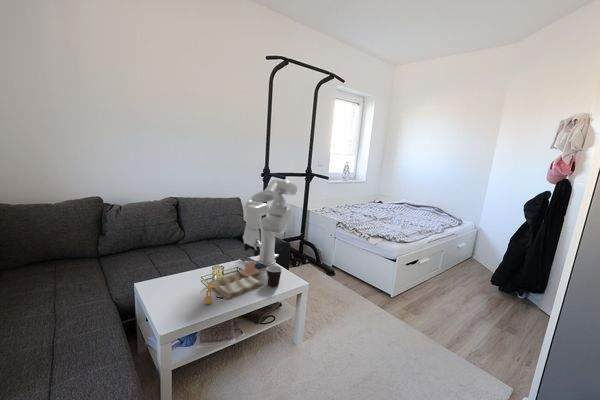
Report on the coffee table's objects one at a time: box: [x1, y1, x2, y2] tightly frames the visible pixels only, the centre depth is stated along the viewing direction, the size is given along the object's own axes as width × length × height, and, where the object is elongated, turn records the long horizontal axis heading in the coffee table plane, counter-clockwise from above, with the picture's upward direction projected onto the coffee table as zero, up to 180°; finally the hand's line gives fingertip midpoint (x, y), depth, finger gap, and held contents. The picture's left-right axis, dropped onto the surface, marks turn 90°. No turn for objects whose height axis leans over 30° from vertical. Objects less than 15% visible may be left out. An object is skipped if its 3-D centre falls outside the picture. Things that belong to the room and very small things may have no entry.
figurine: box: [199, 282, 218, 305], centre depth 134 cm, size 8×6×12 cm
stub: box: [239, 259, 261, 277], centre depth 167 cm, size 10×7×7 cm
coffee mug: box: [266, 264, 283, 288], centre depth 160 cm, size 12×9×10 cm
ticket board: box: [209, 272, 264, 301], centre depth 155 cm, size 24×18×3 cm
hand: (251, 252), depth 166 cm, fingers open, 9 cm apart
